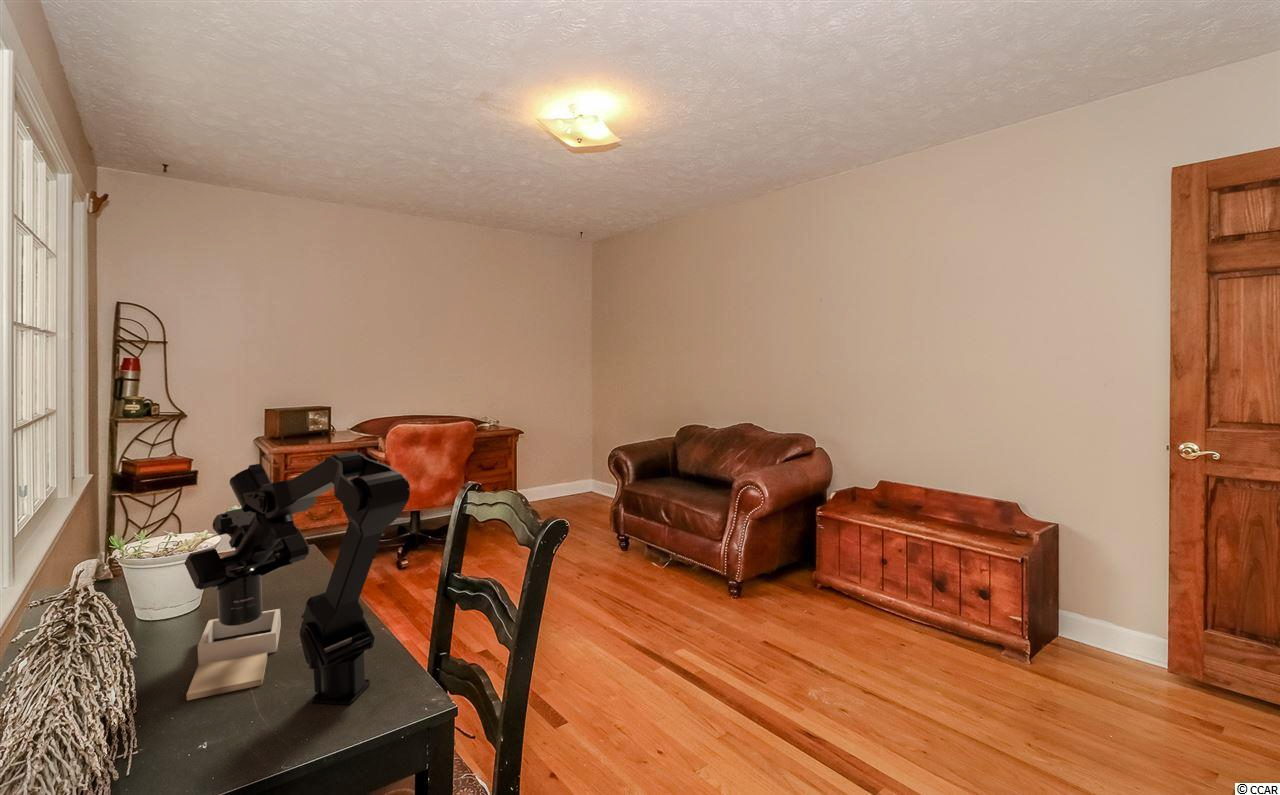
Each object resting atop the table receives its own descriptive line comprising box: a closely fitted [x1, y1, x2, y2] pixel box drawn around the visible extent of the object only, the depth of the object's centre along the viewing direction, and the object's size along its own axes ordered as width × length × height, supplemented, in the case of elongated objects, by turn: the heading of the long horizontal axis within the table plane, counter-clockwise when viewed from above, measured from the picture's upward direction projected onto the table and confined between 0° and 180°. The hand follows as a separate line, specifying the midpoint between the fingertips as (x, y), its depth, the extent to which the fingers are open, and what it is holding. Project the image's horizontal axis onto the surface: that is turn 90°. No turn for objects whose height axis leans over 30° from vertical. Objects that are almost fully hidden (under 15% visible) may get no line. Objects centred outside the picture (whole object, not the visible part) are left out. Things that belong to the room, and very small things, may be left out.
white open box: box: [197, 608, 282, 666], centre depth 114 cm, size 12×12×4 cm
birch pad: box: [186, 652, 268, 701], centre depth 102 cm, size 10×10×1 cm
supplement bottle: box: [217, 552, 263, 626], centre depth 113 cm, size 7×7×12 cm
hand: (235, 582), depth 113 cm, fingers closed on supplement bottle, 7 cm apart
